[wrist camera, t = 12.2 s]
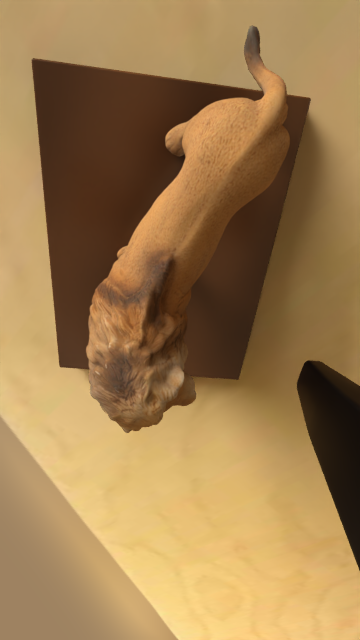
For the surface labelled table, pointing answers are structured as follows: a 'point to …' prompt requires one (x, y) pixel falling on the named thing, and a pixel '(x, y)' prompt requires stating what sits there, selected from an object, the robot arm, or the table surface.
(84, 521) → the table surface
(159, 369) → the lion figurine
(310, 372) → the robot arm
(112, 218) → the walnut board
